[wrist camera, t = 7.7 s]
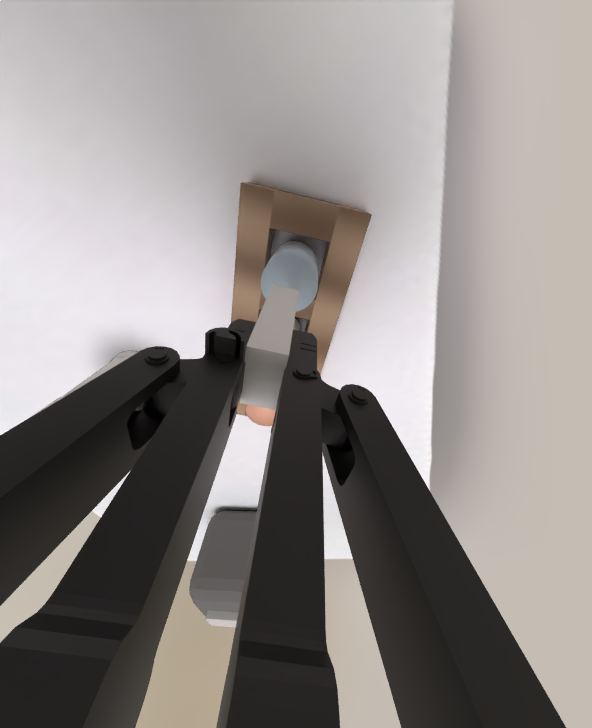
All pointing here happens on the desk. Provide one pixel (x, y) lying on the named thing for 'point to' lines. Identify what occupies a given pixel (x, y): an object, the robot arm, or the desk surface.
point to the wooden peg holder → (305, 218)
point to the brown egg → (260, 415)
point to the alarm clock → (223, 566)
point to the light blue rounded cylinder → (293, 272)
